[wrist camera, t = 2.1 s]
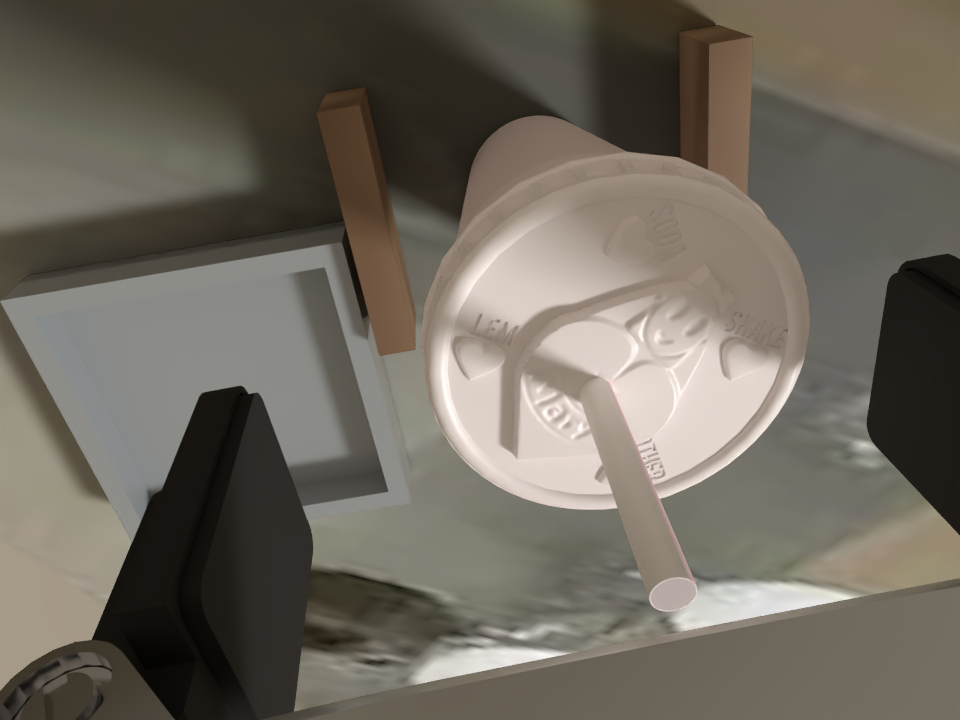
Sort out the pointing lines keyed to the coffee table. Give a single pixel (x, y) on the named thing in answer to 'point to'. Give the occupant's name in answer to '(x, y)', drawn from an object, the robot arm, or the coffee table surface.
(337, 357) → the tray
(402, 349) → the brown parallel rails
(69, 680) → the robot arm
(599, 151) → the smoothie
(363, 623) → the coffee table surface
